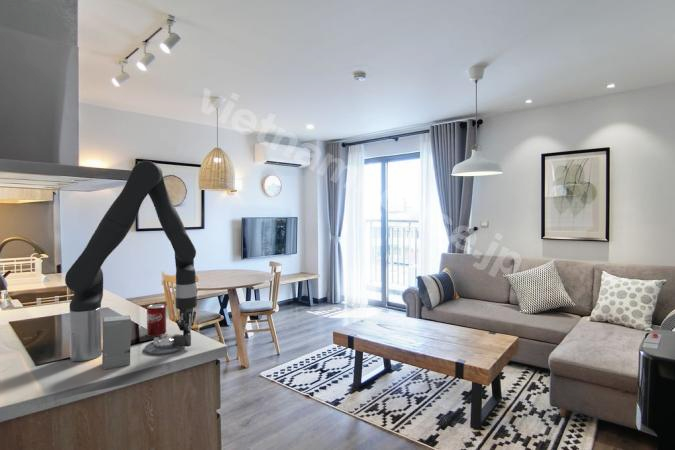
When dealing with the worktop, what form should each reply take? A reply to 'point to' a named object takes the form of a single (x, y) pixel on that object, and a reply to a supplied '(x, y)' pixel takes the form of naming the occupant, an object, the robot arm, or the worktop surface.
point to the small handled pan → (172, 340)
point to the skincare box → (116, 341)
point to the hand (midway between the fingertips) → (187, 339)
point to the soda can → (156, 320)
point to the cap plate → (156, 351)
